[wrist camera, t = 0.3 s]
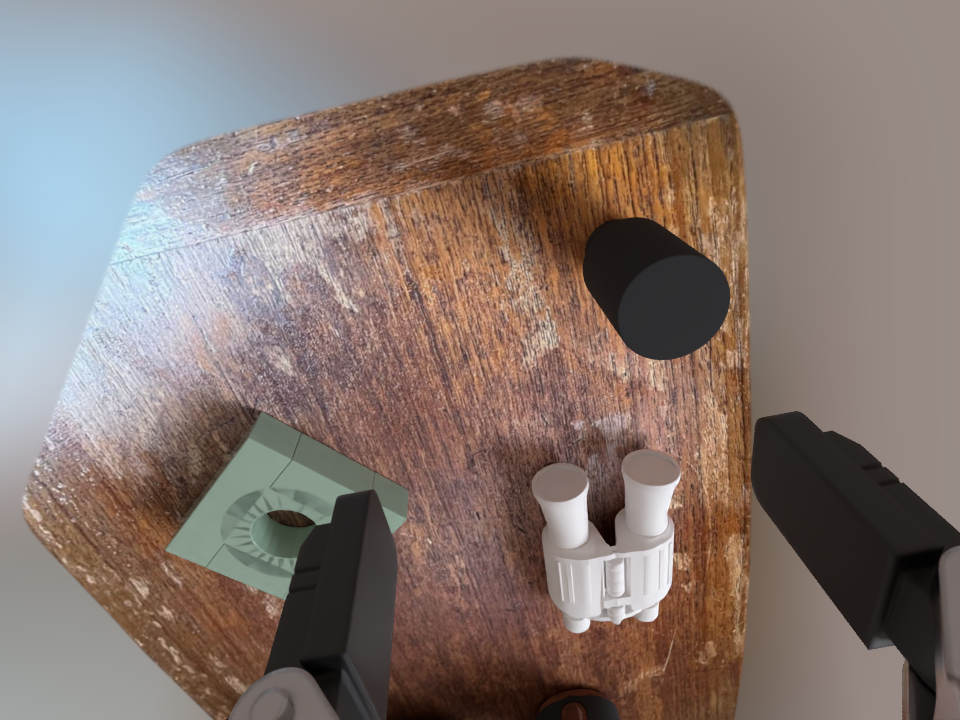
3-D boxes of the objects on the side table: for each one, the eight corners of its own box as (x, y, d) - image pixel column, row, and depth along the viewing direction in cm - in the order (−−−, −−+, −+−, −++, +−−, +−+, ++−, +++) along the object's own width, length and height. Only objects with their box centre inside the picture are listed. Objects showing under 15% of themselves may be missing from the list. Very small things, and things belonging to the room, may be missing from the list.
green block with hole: (181, 518, 40) (163, 550, 37) (261, 410, 36) (247, 437, 33) (323, 580, 44) (316, 613, 42) (408, 489, 40) (407, 519, 38)
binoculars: (666, 440, 40) (693, 483, 36) (662, 584, 48) (683, 633, 43) (526, 463, 40) (537, 509, 36) (545, 603, 48) (555, 653, 43)
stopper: (554, 256, 32) (593, 320, 24) (615, 186, 31) (680, 230, 23) (613, 305, 34) (668, 379, 26) (674, 241, 32) (753, 300, 24)
